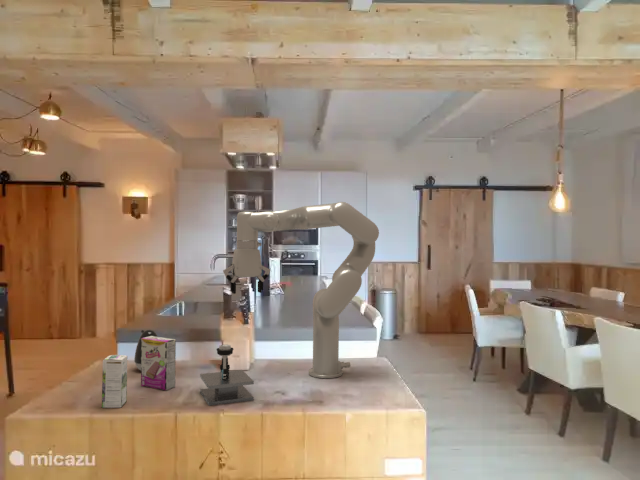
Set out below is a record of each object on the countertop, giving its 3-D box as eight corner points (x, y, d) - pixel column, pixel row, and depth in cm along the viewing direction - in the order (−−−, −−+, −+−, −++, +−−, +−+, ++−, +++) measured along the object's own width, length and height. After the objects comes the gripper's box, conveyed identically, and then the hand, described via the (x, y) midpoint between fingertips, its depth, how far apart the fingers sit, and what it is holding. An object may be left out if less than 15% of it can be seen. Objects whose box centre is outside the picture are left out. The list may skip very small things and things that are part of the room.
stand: (242, 387, 176) (242, 369, 175) (253, 400, 163) (253, 381, 163) (200, 392, 170) (200, 373, 170) (208, 405, 157) (208, 385, 157)
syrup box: (107, 401, 160) (107, 354, 159) (127, 401, 160) (127, 354, 160) (101, 408, 154) (101, 359, 154) (122, 408, 154) (122, 359, 154)
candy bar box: (139, 386, 175) (140, 338, 175) (150, 382, 180) (150, 335, 180) (165, 391, 171) (166, 341, 170) (176, 387, 175) (176, 338, 175)
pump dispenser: (154, 365, 203) (154, 326, 203) (167, 370, 196) (168, 329, 196) (129, 369, 196) (129, 329, 196) (142, 375, 189) (142, 333, 188)
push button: (232, 380, 163) (232, 348, 163) (215, 380, 163) (215, 348, 162) (233, 374, 170) (233, 343, 170) (216, 374, 169) (217, 344, 169)
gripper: (267, 245, 195) (266, 290, 196) (221, 245, 189) (220, 292, 189) (273, 246, 189) (272, 293, 189) (226, 246, 182) (225, 295, 182)
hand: (246, 292), depth 189 cm, fingers open, 9 cm apart
